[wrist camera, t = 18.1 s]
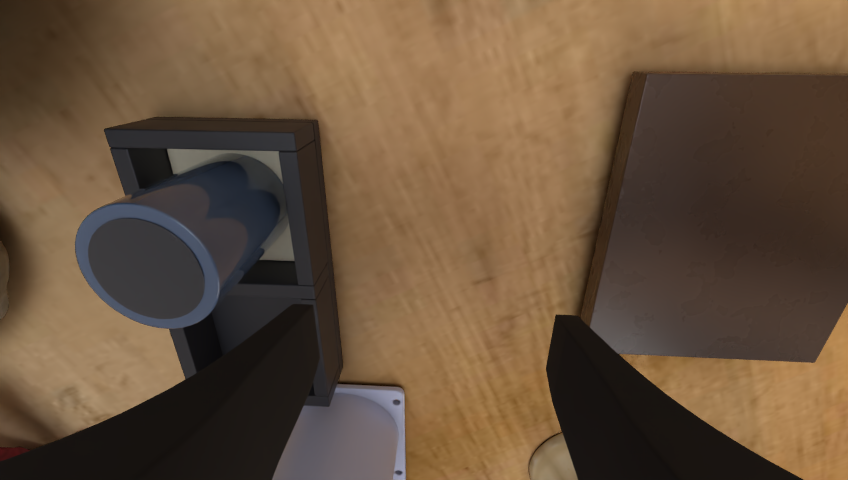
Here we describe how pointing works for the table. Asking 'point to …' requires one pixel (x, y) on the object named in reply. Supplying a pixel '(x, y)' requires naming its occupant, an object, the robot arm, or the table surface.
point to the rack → (284, 261)
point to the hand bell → (552, 461)
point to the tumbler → (182, 240)
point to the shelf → (725, 218)
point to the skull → (4, 280)
